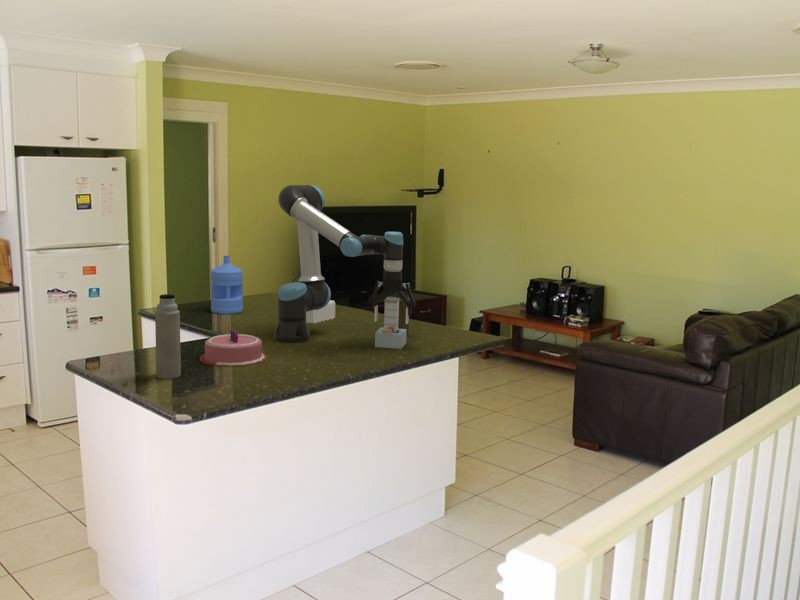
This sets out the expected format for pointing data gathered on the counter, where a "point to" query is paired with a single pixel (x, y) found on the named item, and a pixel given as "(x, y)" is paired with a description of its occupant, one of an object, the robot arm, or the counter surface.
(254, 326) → the counter surface
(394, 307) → the column
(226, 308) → the water jug
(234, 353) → the cake
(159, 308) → the thermos bottle
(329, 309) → the white box
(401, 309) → the canister
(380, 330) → the stand base
